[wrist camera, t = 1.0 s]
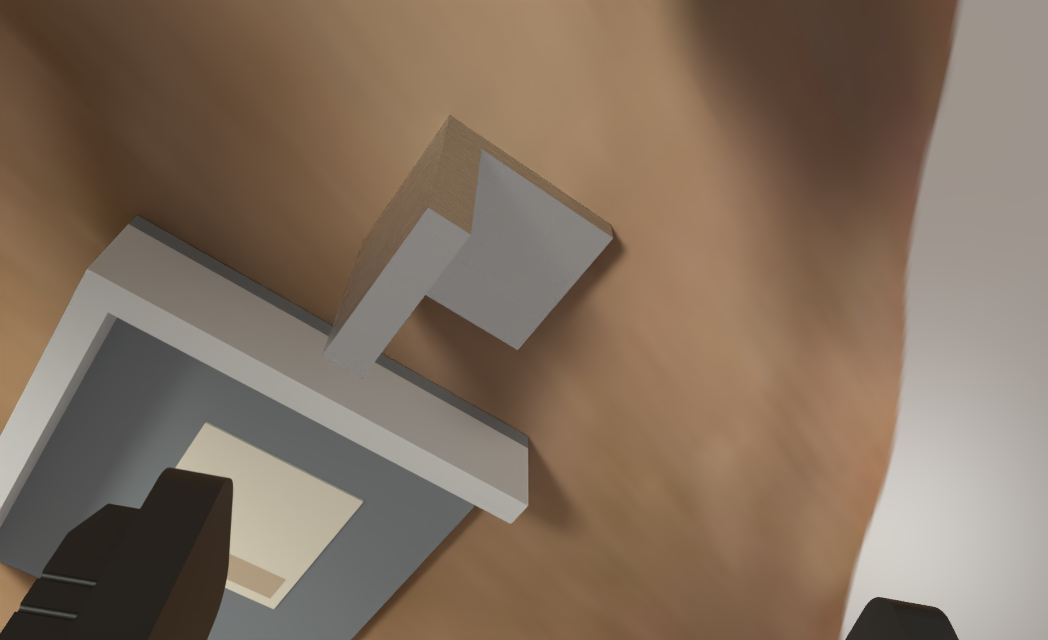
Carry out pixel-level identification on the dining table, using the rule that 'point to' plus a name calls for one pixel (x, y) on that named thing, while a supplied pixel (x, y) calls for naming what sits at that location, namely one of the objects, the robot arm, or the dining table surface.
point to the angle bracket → (465, 249)
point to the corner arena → (246, 440)
